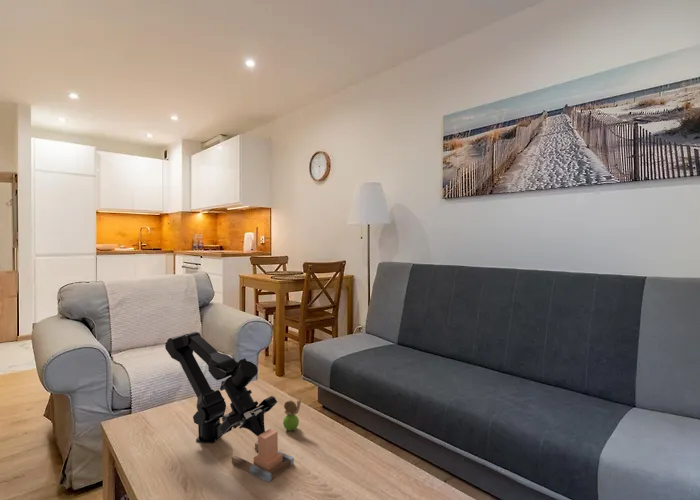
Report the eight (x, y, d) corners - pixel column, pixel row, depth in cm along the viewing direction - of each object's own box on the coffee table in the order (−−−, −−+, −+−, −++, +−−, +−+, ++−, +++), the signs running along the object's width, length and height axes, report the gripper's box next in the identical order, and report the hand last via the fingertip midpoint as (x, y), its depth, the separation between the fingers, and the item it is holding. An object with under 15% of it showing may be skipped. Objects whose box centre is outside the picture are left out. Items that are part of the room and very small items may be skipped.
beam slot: (231, 463, 122) (231, 456, 122) (257, 447, 130) (257, 441, 130) (268, 482, 113) (268, 475, 113) (293, 464, 122) (293, 457, 121)
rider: (253, 467, 120) (253, 434, 119) (268, 457, 125) (268, 426, 124) (267, 474, 116) (267, 441, 116) (282, 464, 121) (282, 432, 120)
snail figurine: (298, 434, 139) (298, 400, 138) (280, 432, 140) (280, 398, 139) (303, 426, 144) (303, 394, 143) (286, 424, 145) (286, 392, 144)
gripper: (249, 397, 138) (273, 438, 132) (202, 418, 122) (226, 466, 117) (265, 379, 133) (290, 421, 127) (218, 399, 117) (244, 448, 112)
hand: (263, 438), depth 121 cm, fingers closed
